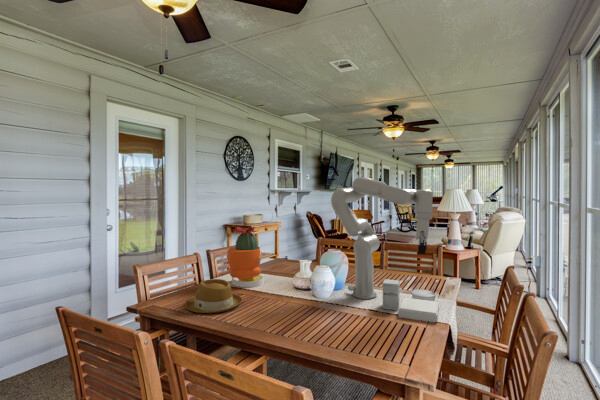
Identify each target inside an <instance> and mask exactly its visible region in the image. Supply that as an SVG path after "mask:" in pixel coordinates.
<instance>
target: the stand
mask: <svg viewBox="0 0 600 400" xmlns="http://www.w3.org/2000/svg"><path fill="white" fill-rule="evenodd" d="M439 311H440V303H439V302H438V301H435V300H434V301H428V300H420V299H413V297H411V298H410V297H404V298H403V299H402V301H401V303H400V304H399V308H398V311H397V313H398V314H397V317H398V318H404V319H410V320H414V321H415V320H416V321H421V320H422V321H423V322H428V321H429V322H428V323H435V322H437V323H438V320H439V313H438V312H439Z"/></svg>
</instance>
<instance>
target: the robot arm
mask: <svg viewBox="0 0 600 400" xmlns="http://www.w3.org/2000/svg"><path fill="white" fill-rule="evenodd" d="M365 196H370V197H373V198H377V199H380V200H383V201H387V202H389V203H393V204H395V205H396V204H397V205H401V206H407V205H413V204H414V205H415V207H414V214H415V215H414V219H415V220H416V234H415V235H416V236H415V239H416V240H418V245H417V248H418V249H417V250H418V251H417V253H418V254H421V255H422V254H423V255H426V254H427V253H426V251H427V249H428V245H427V244H428V243H427V241H428V236H429V230H430V220H432V219H433V190H431V189H413V188H400V187H395V186H392V185H388V184H386V182H384V181H380V180H375V179H372V178H371V177H367V176H359V177H357V178H355V179H354V180H353V181H352V186H350V187H341V188H340V187H339V188H337V189H335V190H334V191H333V193H332V195H331V200H330V204H331V207H332V210H333V212H334V213H335V214H336V216H337V217H338V219H339V221H340V223H341V225H342V226H343V227H344V230H345V231H346V233H347V234H348V236H350V237H352V238H353V237H355V238H356V237H357V239H355V240H354V242H353V253H354V267H355V268H354V269H355V270H354V271H355V272H354V273H355V274H354V276H355V278H354V279H355V281H354V282H355V283H354V285H353V286H352V285H348V286H347V289H348V291H351V292H352V296H353V297H355V298H357V299H360V300H361V299H362V300H373V299H375V298H377V297H378V296H377V292H375V290H374V288H375V286H374V282H375V281H374V279H375V278H374V259H373V255H372V253H374V252H376V251H377V250H378V249H379V247H380V244H381V242H380V239H379V237H378V236H377V234H376V232H375V231H374V229H373V227H372V225H371V223H369V221H368V220H367V219H366V218H362V217H357V216H356V214H355V213H354V210H353V209H352V208H351V207H350V206H349V205H348V204H349V203H352V204H353V203H355V202H357V201H358V200H360V199H362V198H363V197H365Z"/></svg>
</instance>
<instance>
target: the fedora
mask: <svg viewBox="0 0 600 400" xmlns="http://www.w3.org/2000/svg"><path fill="white" fill-rule="evenodd" d="M242 302H243V298H242V297H241V296H240V295H237V294H234V293H233V291H232V287H231V284H230V283H229V281H227V280H225V279H223V278H222V279H220V278H211V279H205V280H202V281H200V282H199V285H198V288H197V290H196V293H195V295H193V296H190V297H188V298H187V299H186V301H185V303H184V305H185V308H186V309H187V310H189V311H190V312H193V313H194V312H195V313H198V314H215V313H222V312H227V311H230V310H233V309H235V308H236V307H238V306H239V305H240V304H241V303H242Z"/></svg>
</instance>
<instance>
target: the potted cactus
mask: <svg viewBox="0 0 600 400" xmlns="http://www.w3.org/2000/svg"><path fill="white" fill-rule="evenodd" d="M255 229H256V226H252V227H247V228H244V227H242V226H237V227H236V230H235V231H234V234H237V237H236V240H235V241H236V242H235V244H234V245H235V246H232V247H230V248H228V249H227V253H226V254H227V257H226V258H227V263H228V265H229V270H228V273H229V275H230V277H231V284H232V285H233V286H235V285H236V287H239V286H240V288H257V287H261V286H263V285H264V283H265V281H264V279H265V278H264V276H263V275H261V273H262V269H261V268H260V264H261V261H262V249H261V247H260V246H259V241H258V239H257V236H256V235H255V232H259V231H260V229H259V230H255Z"/></svg>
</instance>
